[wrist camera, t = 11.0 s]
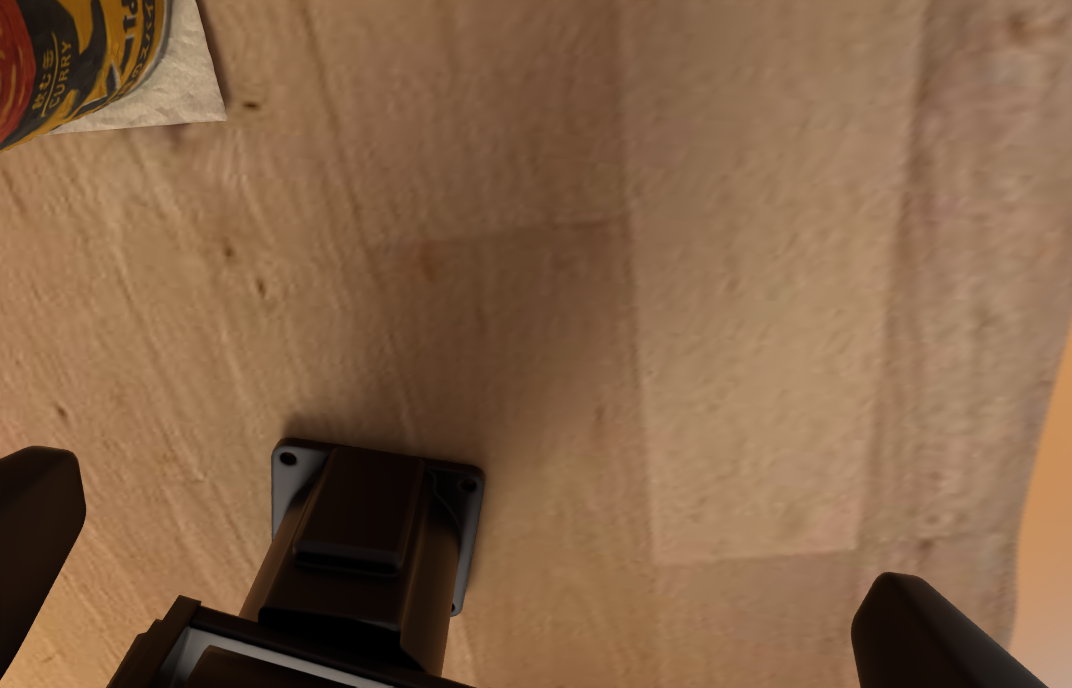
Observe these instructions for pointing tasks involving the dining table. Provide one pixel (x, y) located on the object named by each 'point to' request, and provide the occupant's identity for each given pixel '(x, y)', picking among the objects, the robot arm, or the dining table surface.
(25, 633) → the robot arm
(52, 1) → the condiment
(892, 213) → the dining table surface
